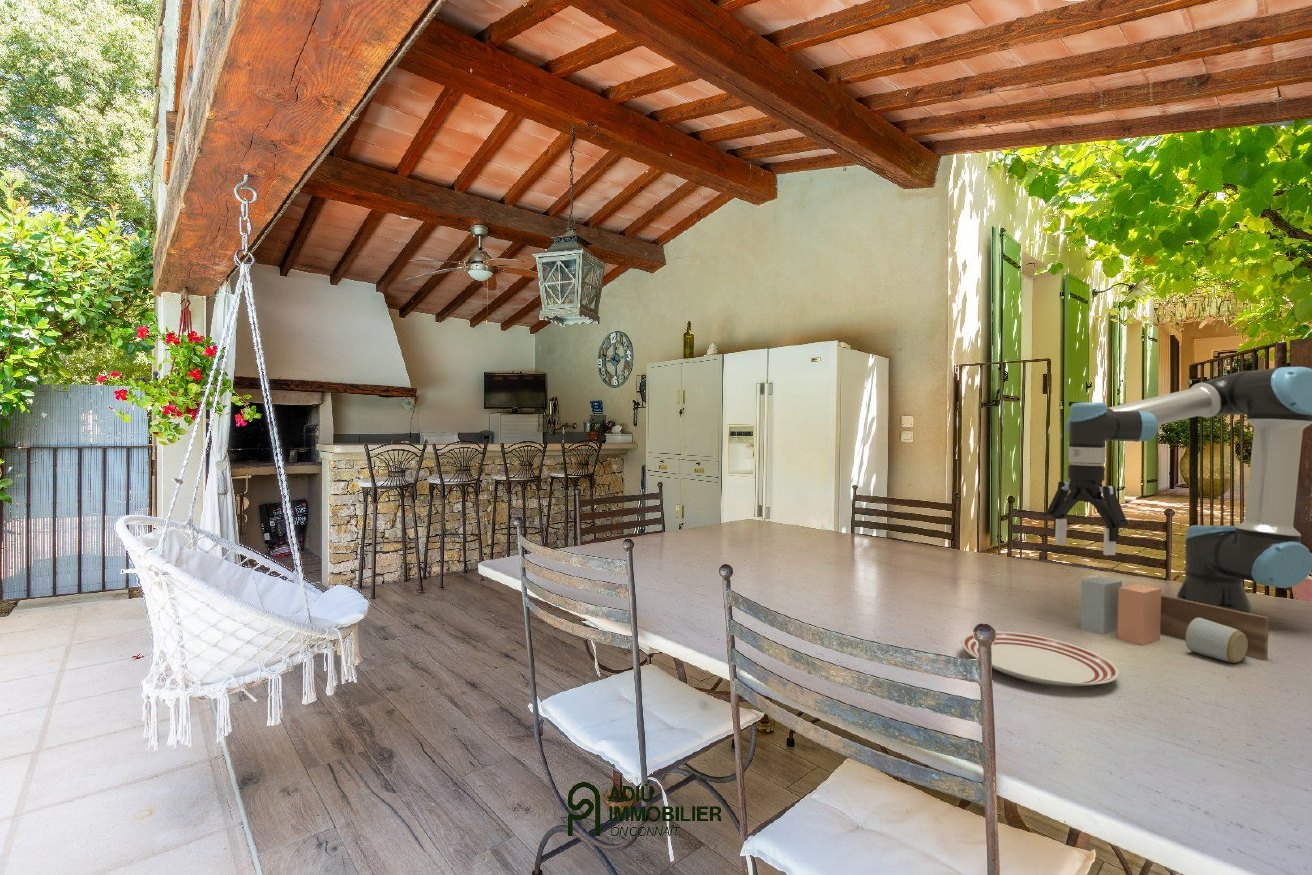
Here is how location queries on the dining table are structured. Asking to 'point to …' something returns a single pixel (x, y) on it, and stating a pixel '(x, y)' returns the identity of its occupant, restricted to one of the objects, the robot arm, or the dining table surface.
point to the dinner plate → (1045, 660)
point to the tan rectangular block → (1139, 614)
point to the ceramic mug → (1216, 640)
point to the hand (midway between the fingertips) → (1084, 549)
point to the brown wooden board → (1183, 612)
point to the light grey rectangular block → (1100, 604)
